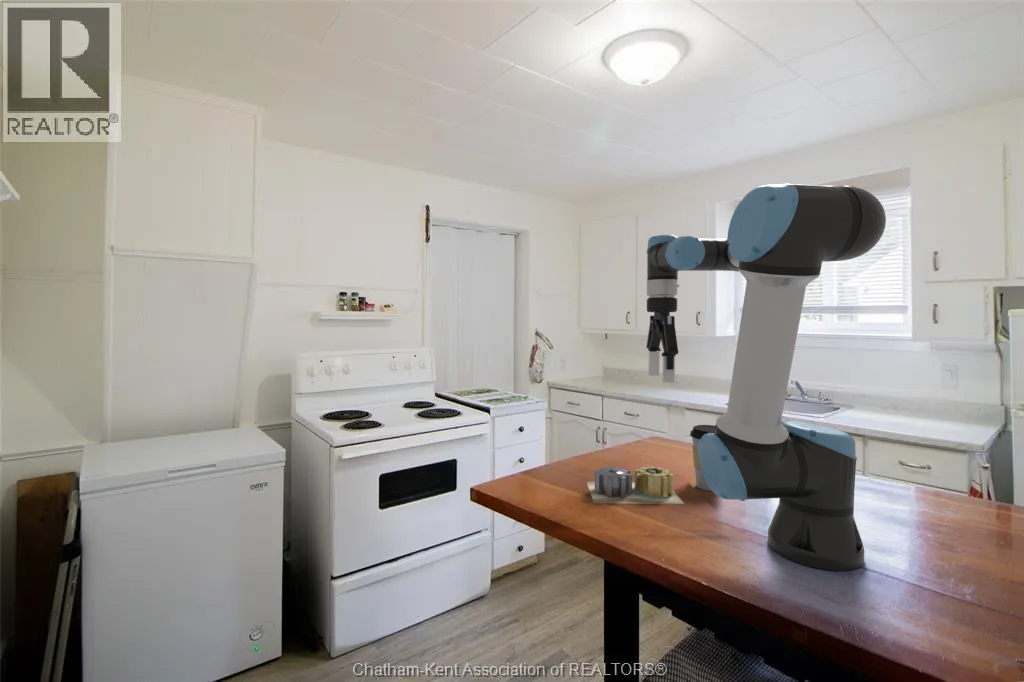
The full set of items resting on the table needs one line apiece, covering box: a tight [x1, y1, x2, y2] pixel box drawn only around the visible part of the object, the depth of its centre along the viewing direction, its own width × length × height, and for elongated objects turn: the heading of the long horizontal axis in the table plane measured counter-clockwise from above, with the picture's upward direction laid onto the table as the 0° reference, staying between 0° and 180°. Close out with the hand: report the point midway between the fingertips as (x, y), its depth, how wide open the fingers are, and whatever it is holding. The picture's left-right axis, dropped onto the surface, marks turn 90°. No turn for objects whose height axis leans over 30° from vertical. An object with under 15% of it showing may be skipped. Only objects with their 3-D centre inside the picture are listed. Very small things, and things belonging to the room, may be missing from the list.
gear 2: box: [634, 466, 674, 497], centre depth 116 cm, size 8×8×5 cm
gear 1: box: [594, 466, 633, 497], centre depth 116 cm, size 8×8×5 cm
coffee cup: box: [689, 424, 716, 492], centre depth 123 cm, size 9×9×15 cm
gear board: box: [586, 469, 685, 505], centre depth 116 cm, size 14×20×7 cm
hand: (660, 378), depth 127 cm, fingers open, 13 cm apart
